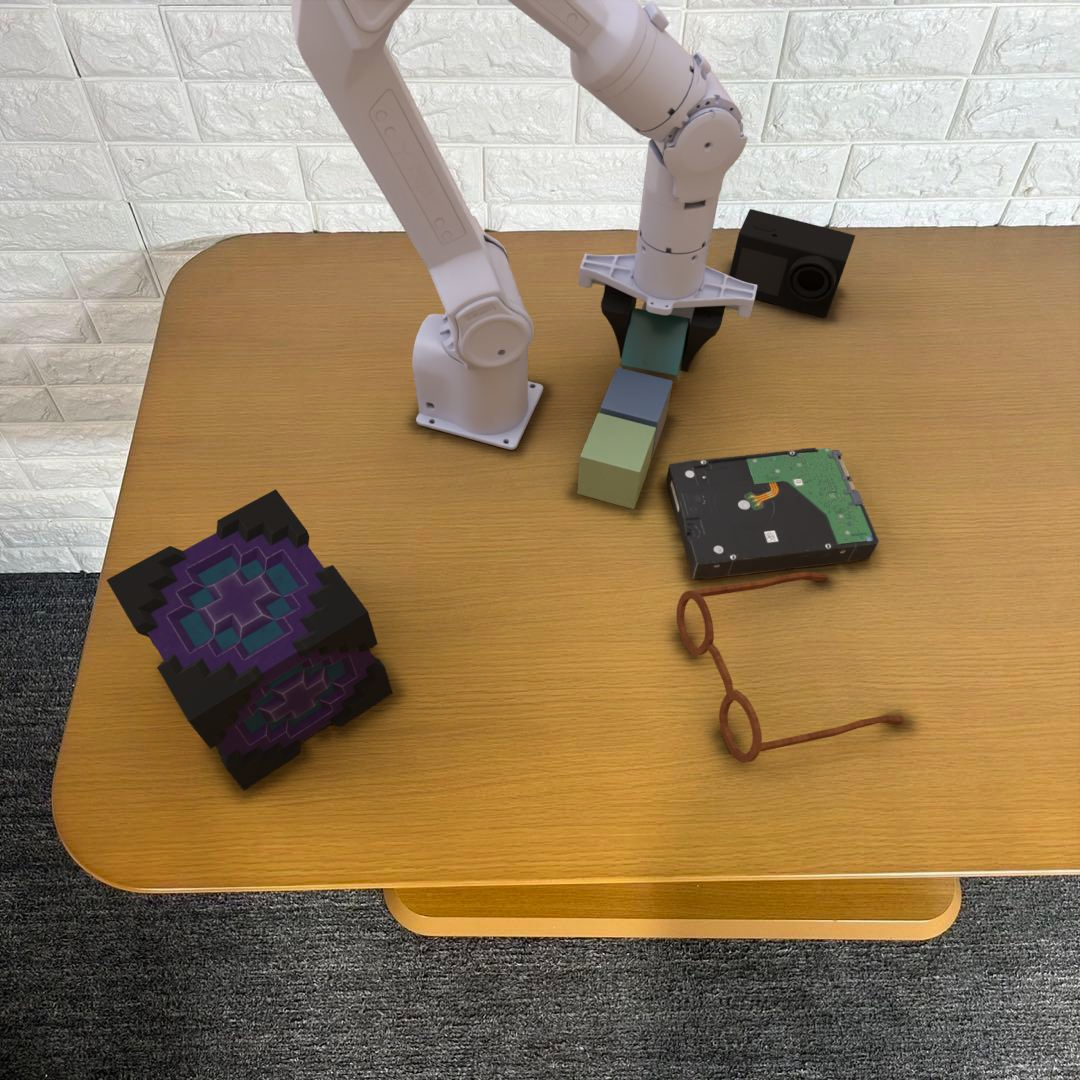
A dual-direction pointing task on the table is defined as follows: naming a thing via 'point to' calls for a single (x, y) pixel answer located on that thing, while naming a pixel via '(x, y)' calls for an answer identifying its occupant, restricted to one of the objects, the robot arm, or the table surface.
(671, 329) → the teal block
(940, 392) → the table surface
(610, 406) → the slate block
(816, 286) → the digital camera
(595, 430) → the sage block
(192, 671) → the energy cube
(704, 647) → the glasses
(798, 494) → the disk drive
